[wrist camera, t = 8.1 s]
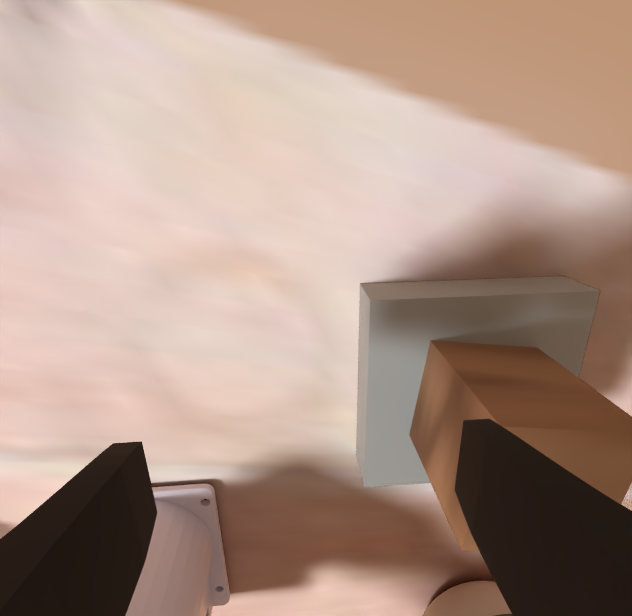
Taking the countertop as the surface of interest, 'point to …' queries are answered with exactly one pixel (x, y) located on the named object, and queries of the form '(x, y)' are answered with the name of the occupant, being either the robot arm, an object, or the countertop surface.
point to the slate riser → (452, 326)
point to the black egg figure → (470, 601)
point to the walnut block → (516, 418)
